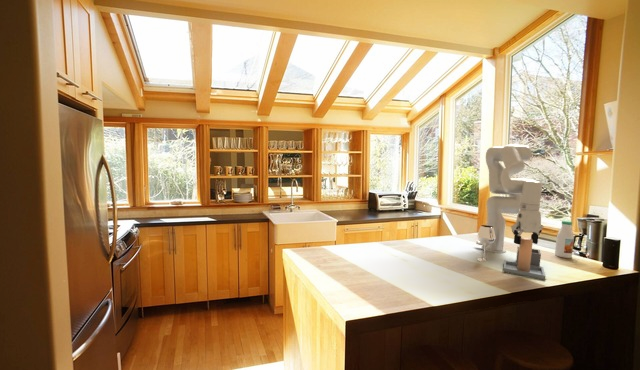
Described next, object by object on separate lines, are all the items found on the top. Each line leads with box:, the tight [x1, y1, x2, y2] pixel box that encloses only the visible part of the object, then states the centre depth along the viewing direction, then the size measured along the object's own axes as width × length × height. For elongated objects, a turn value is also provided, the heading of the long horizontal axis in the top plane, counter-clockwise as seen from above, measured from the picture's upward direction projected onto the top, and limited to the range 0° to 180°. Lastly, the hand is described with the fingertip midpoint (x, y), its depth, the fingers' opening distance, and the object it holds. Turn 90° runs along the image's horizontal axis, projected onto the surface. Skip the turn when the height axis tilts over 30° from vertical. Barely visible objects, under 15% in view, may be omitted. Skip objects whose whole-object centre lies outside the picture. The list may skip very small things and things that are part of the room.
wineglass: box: [477, 224, 495, 262], centre depth 166 cm, size 8×8×18 cm
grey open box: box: [515, 246, 542, 267], centre depth 163 cm, size 10×10×8 cm
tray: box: [502, 260, 546, 281], centre depth 152 cm, size 16×14×2 cm
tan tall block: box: [517, 237, 534, 272], centre depth 151 cm, size 5×5×15 cm
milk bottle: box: [554, 220, 575, 259], centre depth 181 cm, size 8×8×20 cm
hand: (525, 243), depth 151 cm, fingers open, 9 cm apart
